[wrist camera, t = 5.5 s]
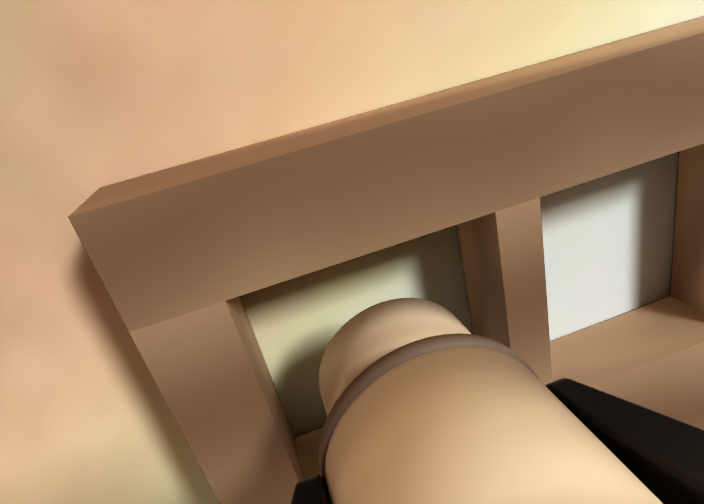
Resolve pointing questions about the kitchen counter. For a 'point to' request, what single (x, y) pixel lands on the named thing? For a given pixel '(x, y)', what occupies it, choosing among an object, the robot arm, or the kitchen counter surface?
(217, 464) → the board
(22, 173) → the kitchen counter surface
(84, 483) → the kitchen counter surface
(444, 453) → the peg
